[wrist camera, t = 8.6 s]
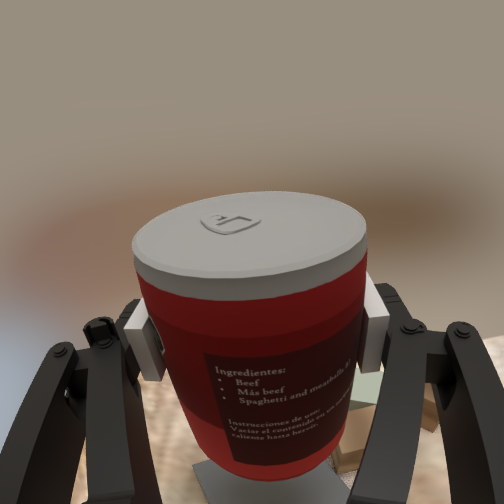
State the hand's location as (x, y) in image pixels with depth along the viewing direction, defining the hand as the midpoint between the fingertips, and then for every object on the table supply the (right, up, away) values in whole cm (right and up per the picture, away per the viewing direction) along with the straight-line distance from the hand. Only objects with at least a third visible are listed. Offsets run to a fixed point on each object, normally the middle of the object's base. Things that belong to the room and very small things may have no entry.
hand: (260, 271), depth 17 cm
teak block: (+8, -16, +6) cm, 20 cm away
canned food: (0, -8, -2) cm, 8 cm away
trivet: (+1, -18, +4) cm, 19 cm away
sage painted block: (+10, -14, +11) cm, 20 cm away
